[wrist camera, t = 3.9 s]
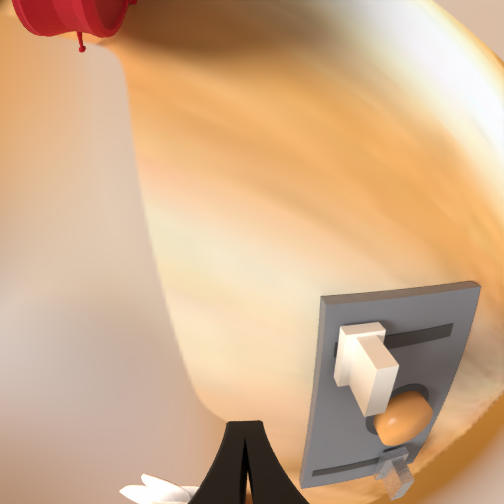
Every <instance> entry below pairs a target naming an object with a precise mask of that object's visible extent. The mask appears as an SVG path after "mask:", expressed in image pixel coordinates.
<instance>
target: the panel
mask: <svg viewBox="0 0 504 504" xmlns="http://www.w3.org/2000/svg"><path fill="white" fill-rule="evenodd" d="M480 288H481V286H480V285H478V284H476V283H474V282H472V281H466V282H458V283H451V284H443V285H435V286H427V287H418V288H409V289H399V290H390V291H379V292H369V293H357V294H345V295H332V296H321V300H320V316H319V329H318V342H317V353H316V363H315V373H314V383H313V391H312V400H311V408H310V415H309V423H308V430H307V436H306V443H305V449H304V456H303V462H302V467H301V473H300V479H299V481H300V486H301V489H303V488H311V487H317V486H323V485H329V484H334V483H340V482H344V481H349V480H354V479H358V478H362V477H366V476H370V475H373V471H374V469H375V467H376V465H377V463H378V460H379V458H380V456H381V454H382V453H384V452H387V451H391V450H394V449H398V448H401V447H404V446H405V447H406V449H407V450H408V452H409V455H408V456H407V458H406V460H405V462H406V464H410V463H413V461H414V459H415V458H416V456H417V454H418V452H419V451H420V449H421V447H422V445H423V443H424V442H425V440H426V438H427V436H428V434H429V432H430V430H431V428H432V426H433V424H434V422H435V420H436V418H437V416H438V414H439V412H440V410H441V408H442V405H443V403H444V401H445V399H446V396H447V394H448V392H449V389H450V387H451V384H452V382H453V379H454V377H455V374H456V371H457V369H458V366H459V363H460V360H461V357H462V354H463V351H464V348H465V345H466V342H467V339H468V336H469V332H470V329H471V325H472V322H473V318H474V314H475V310H476V306H477V302H478V298H479V293H480ZM374 322H379V323H380V324H381V325H382V326H383V327H384V329H385V330H386V332H385V337H384V342H383V345H384V346H385V347H386V348H387V350H388V351H389V352H390V354H391V355H392V356H393V358H394V359H395V360H396V362H397V363H398V364H399V368H398V371H397V375H396V379H395V382H394V385H393V389H392V392H391V395H390V398H389V400H390V399H391V398H393V397H395V396H396V395H399V394H401V393H403V392H407V391H418V392H420V393H421V394H422V396H423V397H424V398H425V400H426V401H427V403H428V404H429V405H430V407H431V408H432V410H433V415H432V418H431V421H430V422H429V424H428V425H427V426H426V428H425V429H424V430H423V431H422V432H421V433H419V434H418V435H417V436H415V437H414V438H412V439H411V440H409V441H407V442H405V443H402V444H399V445H395V446H387V445H384V444H383V443H382V441H381V439H380V437H379V435H378V433H377V431H376V429H375V427H374V424H373V420H374V417H375V415H371V416H367V417H364V416H363V413H362V411H361V409H360V407H359V405H358V403H357V401H356V399H355V396H354V394H353V392H352V390H351V388H350V386H349V385H346V386H340V387H338V386H337V383H336V381H335V379H334V371H335V364H336V357H337V349H338V341H339V333H340V326H348V325H357V324H366V323H374Z"/></svg>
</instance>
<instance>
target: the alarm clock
mask: <svg viewBox="0 0 504 504" xmlns="http://www.w3.org/2000/svg"><path fill="white" fill-rule="evenodd" d="M129 1H130V5H131V4H136V3H137V0H12V3H13V6H14V9H15V12H16V14H17V16H18V18H19V20H20V21H21V23H22V24H23V26H24V27H25V28H26V29H27V30H28V31H30V32H31V33H33V34H35V35H38V36H47V37H49V36H50V37H51V36H55V35H58V34H62V33H66V32H72V31H76V32H77V36H78V40H79V44H80V48H79V52H84V51H85V49H86V47H85V46H83V41H82V32H84V33H89V34H92V35H95V36H97V37H100V38H104V37H111V36H113V35H114V34H115V33H116V32H117V31H118V29H119V28H120V26H121V24H122V21H123V19H124V17H125V14H126V11H127V8H128V4H129Z"/></svg>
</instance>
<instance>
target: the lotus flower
mask: <svg viewBox="0 0 504 504" xmlns="http://www.w3.org/2000/svg"><path fill="white" fill-rule="evenodd" d="M141 478H142V480H143V482H144V483H145V484H146V485H147V486H143V485H128V486H126V487H124V488H123V489H122V490H120V493H122V494H123V495H125V496H126V497H127V498H129V499H131V500H133V501H135V502H137V503H140V504H188V502H189V501H190V500H191V499H192V497H193V496H194V494H195V493H196V491H197V490H198V488H199V487H198V486H177V485H175V484H173V483H171V482H169V481H166V480H164V479H161V478H158V477H155V476H151V475H148V474H143V475H142V476H141Z"/></svg>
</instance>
